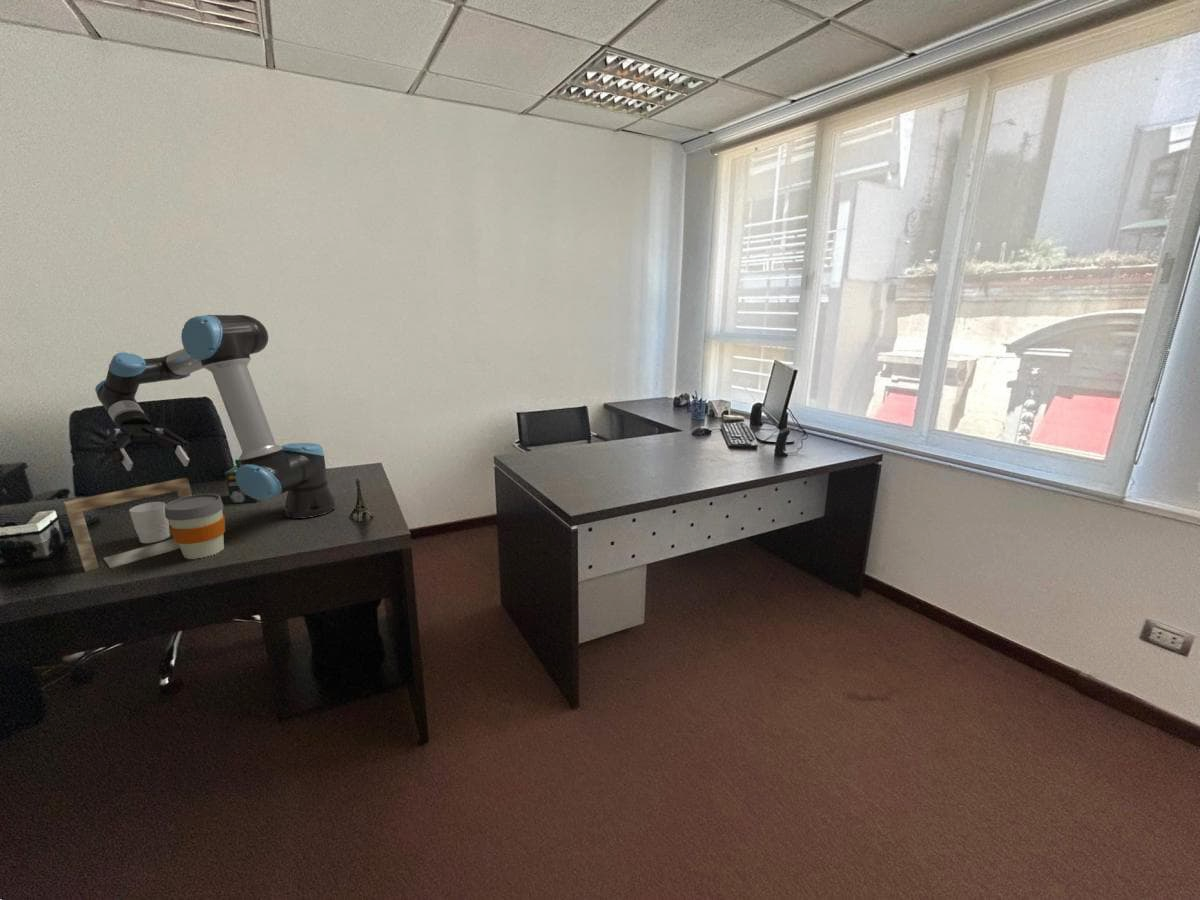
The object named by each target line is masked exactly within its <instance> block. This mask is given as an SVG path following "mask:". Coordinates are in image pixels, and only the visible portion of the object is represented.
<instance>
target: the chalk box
mask: <svg viewBox="0 0 1200 900" xmlns="http://www.w3.org/2000/svg"><path fill="white" fill-rule="evenodd" d="M234 463H235V465H236V466H235V467H234V466H233V467H232V468H230V469H228V470H226V471H225V472H224V477H225V483H226V486H227V490H228V495H229V500H230V503H231V504H235V503H245V504H246V503H259V502H260V501H261V500H257V499H254V498H251V497H250V496H248V495H246V494H245V493H244V492H243V491H242V490H241V489H240V488H239V486H238V484H237V482H236V478H235V475H236V474H237V473H236V471H237V469H238V468H239V467H240V466H241V464H240V462H239V459H235V460H234Z"/></svg>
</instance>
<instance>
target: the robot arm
mask: <svg viewBox="0 0 1200 900" xmlns="http://www.w3.org/2000/svg"><path fill="white" fill-rule="evenodd" d="M180 337H181V343H182V346H183V348H181V349H179V350H176V351H174V352H171V353H170V354H167V355H164V356H161V357H160V356H159V357H151V358H143V357H141V356H140V355H137V354H135V353H133V352H132V353H128V352H123V351H122V352H117V353H116V354H115V355H113V357H112V358H111V361H110V363H109V364H108V370H107V374H106V377H105V380H102V381H100V382H99V383H98V384H96V386H95V388H94V389H95V390H94V391H95V394H96V397H97V399H98V400H99V402H100V403H101V405H102V406H103V407H104V409H105V410H106V412H107V414H108V415H109V417H110V418H111V421H113V424H114V425H115V426H111V425H110V426H108V428H107V431H106V436H107V438H106V440H105V443H104V445H103V449H102V454H104V455H107V454H110V456H111V458H115V459H116V461H117V462H121V463H122V464H123V466H124V467H125V469H126V471H127V472H129V471H131V470H132V468H133V464H134V462H133V461H132V460H131V457H130V456H129V455H128V453H127V452H126V450H125V447H126V446H127V445H128V444H129V443H131V441H134V442H140V441H143V442H144V441H146V442H148V441H149V442H152V443H158V444H160V445H163V446H164V447H167V448H169V449H172V450H175V451H174V453H175V454H176V456H177V458H178V460H179V461H180V462H181V463H182V465H183V466H184V467H188V464H189V463H190V457H188V455H189V452H188V451H187V450H188V449H189V446H190V442H189V441H188V440H186V439H184V438H183V437H181V436H179V435H178V434H176V433H174V431H172V430H170V429H169V428H168V427H167V426H165V425H161V426H159V427H154V426H153V425H152V424H151V421H150V419H149V418H148V417H147V415H146V414H145V411H144V410H143V409H142V407H141V406H140V404H139V403H138V401H137V400H136V394H137V393H138V392H137V391H138V389H139V387H140V385H142V384H150V383H157V382H165V381H172V380H182V379H186V378H188V377H191V374H192V373H194V372H197V371H200V370H203V369H205V370H207V371H209V372H210V373H211V374H212V376H213V379H214V382H215V384H216V387H217V390H218V392H219V394H220V397H221V400H222V402H223V405H224V409H225V411H226V413H227V416H228V419H229V420H230V423H231V426H232V429H233V431H234V434H235V437H236V439H237V441H238V442H237V443H238V444H239V446H240V449H241V455H240V456H239V457H238V460H239V462H240V464H241V466H240V467H239V468H238V469H237V471H236V473H237V474H236V475H235V478H236V482H237V484H238V486H239V488H240V489H241V490H242V491H243V492H244V493H245V494H246V495H248V496H250V497H251V498H254V499H257V500H260V501H263V500H265V501H266V500H268V499H272V498H275V497H277V496H279V495H281V494H284V493H285V492H287V495H286V501H285V505H284V512H285V516H286V515H287V516H286V517H288V516H289V517H288V518H290V517H294V518H293V519H297V518H300V517H309V516H315V515H319V514H322V513H325V512H328V511H330V510H332V509H333V508H334V507H335V506H336V505H337V499H336V497H334V495H333V493H332V491H331V489H330V487H329V484H328V483H329V482H328V475H327V469H326V460H325V459H326V458H325V454H324V449H323V447H322V445H320V444H318V443H313V442H295V443H294V442H293V443H286V444H283V445H282V446H281V445H279V444H277V443H276V441H275V439H274V436H273V433H272V431H271V428H270V425H269V422H268V420H267V416H266V414H265V412H264V409H263V406H262V404H261V401H260V399H259V395H258V393H257V389H256V387H255V385H254V381H253V378H252V376H251V374H250V370H249V368H248V364H249V363H250V361H251V360H252V358H251V356H250V355H253V354H257V353H260V352H262V351H263V350H264V349H265V348H266V347H267V346H268V341H269V333H268V330H267V328H266V327H265V326H264V324H263V323H262V322H261V321H259V320H258V319H257V318H255V317H252V316H249V315H246V314H233V315H232V314H231V315H230V314H205V315H196V316H193V317H191V318H189V319H188V320H187V321H186V322H185V323H184V325H183V328H182V330H181V336H180ZM115 427H116V428H115ZM118 434H119V435H121V436H122V438H121V439H120V440H119V441H118V442H117V443H116V444H115V445H114V446H112V444H113V441H114V438H115V437H116V436H117V435H118Z"/></svg>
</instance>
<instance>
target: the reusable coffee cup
mask: <svg viewBox="0 0 1200 900" xmlns="http://www.w3.org/2000/svg"><path fill="white" fill-rule="evenodd" d="M223 510H224V504H223V501H222V498H221V495H220V494H216V493H199V494H192V495H191V496H186V497H182V498H177V499H173V500H171V501H169V502H167V503H165V517H166V518H167V519H168V522H169V531H170V532H171V535H172V537H173V539H174V540H175V542H177V543H178V544H179V546H180V551H181V553H182V555H183V558H185V559H186V558H187V560H198V559H197V558H201V559H204V558H203V557H206V558H208V557H207V556H209V557H211V556H210V555H212V556H214V555H213V554H215V555H217V554H219V553H220V551H221V550H222V551H223V550H224V549H225V542H224V540H225V539H224V533H225V532H226V520H225V518H226V517H225V514H223V513H224V511H223ZM222 551H221V552H222ZM218 552H219V553H218ZM216 553H217V554H216Z"/></svg>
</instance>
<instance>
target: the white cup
mask: <svg viewBox="0 0 1200 900" xmlns="http://www.w3.org/2000/svg"><path fill="white" fill-rule="evenodd" d="M165 505H166V503H165V502H163V501H153V502H145V503H141V504H138V505H135V506H132V507H131V508H130V509H129V510H128V512H129V515H130V518H131V521H132V524H133V527H134V529H135V531H136V534H137V536H138V540H139V542H140V543H142V544H153V543H154V544H155V543H159V542H163V541H165V540H166V539H168V538H169V537H170V536H171V534H170V532H171V531H170V528H169V525H170V523H169V520H168V519H167V518H166V517H165Z"/></svg>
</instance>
